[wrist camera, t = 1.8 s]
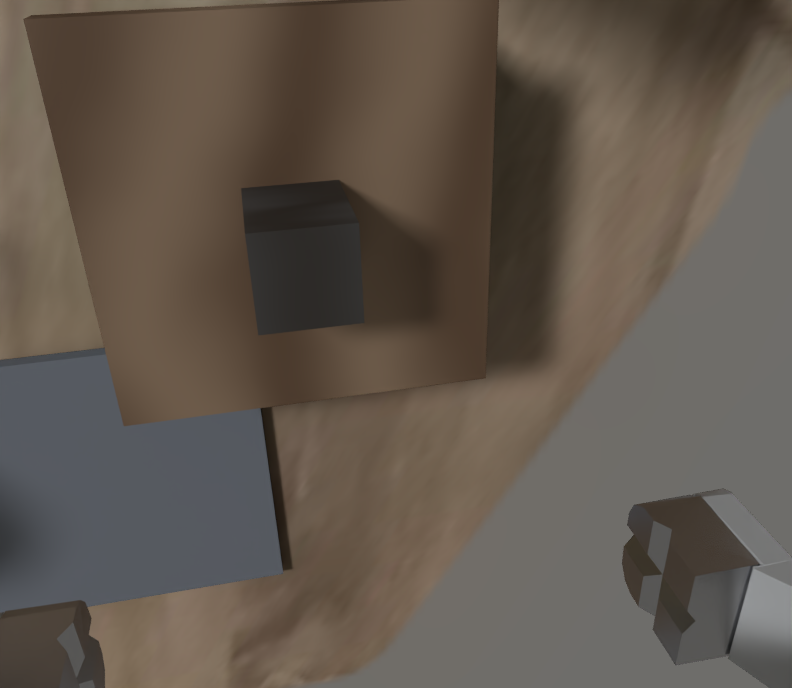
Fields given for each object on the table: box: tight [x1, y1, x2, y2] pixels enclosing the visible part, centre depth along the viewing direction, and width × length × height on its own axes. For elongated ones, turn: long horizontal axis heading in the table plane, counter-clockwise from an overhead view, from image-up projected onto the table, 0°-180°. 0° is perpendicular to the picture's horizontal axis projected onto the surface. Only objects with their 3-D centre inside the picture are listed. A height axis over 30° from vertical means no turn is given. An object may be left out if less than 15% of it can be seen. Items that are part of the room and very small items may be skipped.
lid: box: [24, 0, 499, 426], centre depth 23 cm, size 13×13×5 cm
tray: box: [0, 348, 283, 613], centre depth 35 cm, size 14×14×1 cm
